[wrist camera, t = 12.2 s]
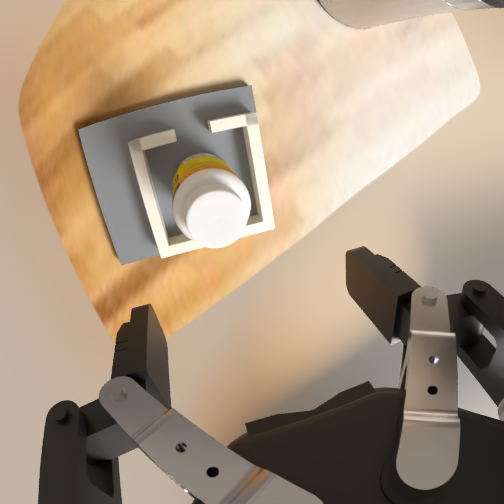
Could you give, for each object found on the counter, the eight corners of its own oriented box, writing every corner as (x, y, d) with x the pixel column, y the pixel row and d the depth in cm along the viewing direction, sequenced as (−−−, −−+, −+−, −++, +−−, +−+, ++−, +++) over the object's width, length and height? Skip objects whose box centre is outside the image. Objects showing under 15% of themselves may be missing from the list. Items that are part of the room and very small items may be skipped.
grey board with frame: (248, 85, 27) (257, 83, 25) (271, 221, 34) (280, 232, 31) (81, 128, 25) (71, 131, 22) (122, 260, 32) (118, 275, 29)
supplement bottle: (167, 157, 27) (165, 185, 19) (228, 147, 28) (256, 170, 20) (177, 215, 30) (181, 267, 21) (234, 204, 31) (263, 251, 22)
